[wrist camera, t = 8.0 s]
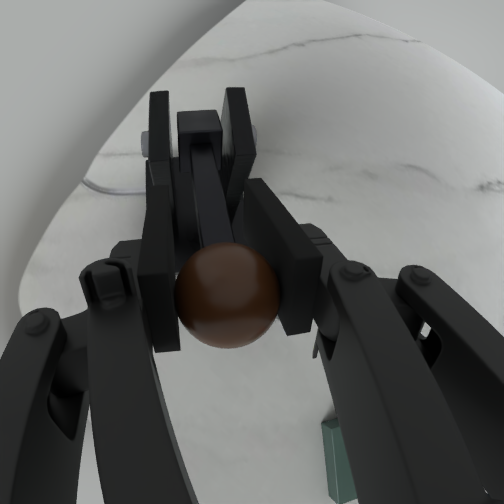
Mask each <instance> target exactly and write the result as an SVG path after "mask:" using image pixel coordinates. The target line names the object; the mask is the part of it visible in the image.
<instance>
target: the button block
mask: <svg viewBox="0 0 504 504" xmlns="http://www.w3.org/2000/svg"><path fill="white" fill-rule="evenodd" d="M321 425H322V433H323V442H324V451H325V460H326V470H327V480H328V491H329V496H330V497H331V498H332V499H333V500H334V501H335V502H336V503H337V504H343V503H346V502H349V501H352V500H354V499H357V494H356V490H355V485H354V481H353V477H352V473H351V469H350V465H349V461H348V457H347V453H346V449H345V445H344V441H343V437H342V433H341V429H340V425H339V421H338V418H337V419H334V420H330V421H326V422H323V423H321Z"/></svg>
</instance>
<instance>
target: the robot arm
mask: <svg viewBox="0 0 504 504" xmlns="http://www.w3.org/2000/svg"><path fill="white" fill-rule="evenodd" d="M243 236H244V238H245V241H246V243H247V245H248V247H250V248H252V249H254V250H255V251H257V252H258V253H260V254H261V255H262V256H263V257H264V258H265V259H266V260H267V261H268V262H269V263H270V264H271V266H272V268H273V269H274V271H275V273H276V275H277V278H278V281H279V285H280V295H281V298H280V306H279V310H278V313H277V314H278V316H279V319H280V321H281V323H282V326H283V328H284V330H285V333H286V335H287V336H290V335H296V334H301V333H307V332H310V331H311V326H312V320H313V319H314V320H315V322H316V324H317V326H318V331H317V336H316V341H315V345H314V349H313V358H316V357H317V353H318V350H319V352H320V355H321V359H322V363H323V366H324V370H325V373H326V377H327V381H328V384H329V388H330V392H331V395H332V399H333V403H334V406H335V410H336V414H337V418H338V421H339V425H340V429H341V433H342V437H343V441H344V445H345V449H346V453H347V457H348V461H349V465H350V469H351V473H352V477H353V481H354V485H355V490H356V494H357V498H358V503H359V504H504V337H503V336H502V335H501V334H500V333H499V332H498V331H497V330H496V329H495V328H494V327H493V326H492V325H491V324H490V323H489V322H488V321H487V320H486V319H485V318H484V317H483V316H482V315H480V314H479V313H478V312H477V311H476V310H475V309H474V308H473V307H472V306H471V305H470V304H469V303H468V302H466V301H465V300H464V299H463V298H462V297H461V296H460V295H459V294H458V293H456V292H455V291H454V290H453V289H452V288H451V287H450V286H449V285H447V284H446V283H445V282H444V281H443V280H442V279H441V278H439V277H438V276H437V275H436V274H435V273H433V272H432V271H430V270H429V269H426V268H424V267H422V266H418V265H408V266H405V267H403V268H402V269H401V271H400V273H399V276H398V279H389V278H378V277H377V276H376V274H375V273H374V272H373V270H372V269H371V268H370V267H368V266H366V265H364V264H363V263H360V262H356V261H349V260H347V259H346V258H345V256H344V255H343V254H342V253H341V252H340V250H339V249H338V248H337V247H336V246H335V245H334V244H333V242H332V241H331V240H330V239H329V238H327V236H326V234H325V233H324V232H323V231H322V230H321V229H320V228H318V227H316V226H314V225H312V224H310V223H309V224H298V223H297V222H296V220H295V219H294V218H293V217H292V215H291V214H290V213H289V212H288V210H287V209H286V208H285V207H284V205H283V204H282V203H281V202H280V200H279V199H278V198H277V197H276V196H275V194H274V193H273V192H272V191H271V189H270V188H269V187H268V186H267V185H266V183H265V182H264V181H263V180H262V178H252V179H244V213H243ZM79 280H80V283H81V286H82V290H83V293H84V296H85V299H86V302H87V305H88V309H87V310H85V311H84V312H81V313H79V314H76V315H73V316H70V317H67V318H64V319H61V318H60V316H59V314H58V312H57V311H55V310H54V309H51V308H39V309H35V310H33V311H31V312H29V313H27V314H26V315H25V316H23V317H22V318H21V320H20V321H19V322H18V324H17V326H16V328H15V330H14V332H13V334H12V336H11V338H10V340H9V342H8V344H7V346H6V348H5V350H4V352H3V355H2V357H1V359H0V504H76V500H77V488H78V479H79V469H80V462H81V453H82V447H83V440H84V433H85V427H86V421H87V416H88V410H89V405H90V411H91V421H92V431H93V439H94V447H95V454H96V460H97V467H98V473H99V478H100V484H101V489H102V494H103V499H104V503H105V504H199V503H198V500H197V498H196V495H195V492H194V490H193V487H192V484H191V481H190V479H189V476H188V473H187V470H186V467H185V464H184V461H183V459H182V456H181V452H180V449H179V446H178V443H177V440H176V437H175V434H174V430H173V427H172V424H171V420H170V417H169V413H168V410H167V406H166V403H165V399H164V395H163V392H162V388H161V384H160V380H159V376H158V372H157V368H156V364H155V361H154V357H153V347H154V351H155V353H159V352H170V351H180V350H181V349H180V337H179V325H178V314H177V311H176V308H175V300H174V288H175V282H176V278H175V256H174V237H173V227H172V217H171V206H170V194H169V184H166V185H156V186H151V188H150V193H149V199H148V204H147V210H146V216H145V222H144V228H143V234H142V239H138V240H128V241H119V242H118V244H117V245H116V246H115V247H114V248H113V249H112V250H111V254H110V257H109V258H106V259H102V260H98V261H95V262H93V263H92V264H90V265H88V266H87V267H86V268H85V269H83V270H82V271H81V274H80V276H79ZM425 322H426V323H427V324H428V325H429V326H430V327H431V330H430V332H429V334H428V336H427V337H424V336H423V335H422V334H421V333H420V332H421V330H422V328H423V325H424V323H425ZM483 487H484V488H485V490H486V491H487V493H488V494H489V496H490V497H489V496H488V495H487V494H486V492H485V490H484V488H483Z"/></svg>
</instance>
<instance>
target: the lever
mask: <svg viewBox="0 0 504 504" xmlns="http://www.w3.org/2000/svg"><path fill="white" fill-rule="evenodd" d="M177 130H178V153H179V171H180V173H188V172H191V175H192V184H193V192H194V201H195V209H196V217H197V224H198V232H199V239H200V246H201V249H200V250H199V251H197V252H196V253H194V254H193V255H192V256H191V257H190V258H189V259H188V260H187V261H186V262H185V264H184V265H183V266H182V268H181V270H180V272H179V274H178V276H177V279H176V282H175V288H174V300H175V308H176V311H177V314H178V317H179V319H180V321H181V322H182V324H183V325H184V327H185V328H186V330H187V331H188V332H189V333H190V334H191V335H193V336H194V337H195V338H196V339H198V340H199V341H201V342H203V343H205V344H207V345H210V346H213V347H217V348H228V349H229V348H238V347H242V346H245V345H248V344H250V343H252V342H254V341H256V340H257V339H259V338H260V337H261V336H262V335H264V334H265V333H266V332H267V330H268V329H269V328H270V327H271V325H272V324H273V322H274V320H275V318H276V316H277V313H278V310H279V306H280V298H281V295H280V285H279V281H278V278H277V275H276V273H275V271H274V269H273V268H272V266H271V264H270V263H269V262H268V261H267V260H266V259H265V258H264V257H263V256H262V255H261V254H260V253H258V252H257V251H255V250H254V249H252V248H250V247H248V246H245V245H242V244H238V243H235V239H234V235H233V231H232V226H231V222H230V218H229V214H228V210H227V206H226V202H225V198H224V193H223V189H222V185H221V181H220V177H219V173H218V170H221V169H222V147H223V129H222V125H221V122H220V119H219V116H218V113H217V110H198V111H182V112H177Z"/></svg>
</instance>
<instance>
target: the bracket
mask: <svg viewBox="0 0 504 504" xmlns="http://www.w3.org/2000/svg"><path fill="white" fill-rule="evenodd" d="M221 125H222V129H223V147H222V169H221V170H218V173H219V177H220V181H221V185H222V189H223V193H224V198H225V202H226V206H227V210H228V214H229V218H230V222H231V226H232V231H233V235H234V239H235V243H238V244H242V245H245V246H248V245H247V243H246V241H245V238H244V236H243V213H244V199H243V191H244V179H248V177H249V174H250V171H251V169H252V166H253V163H254V160H255V158H256V155H257V153H256V142H257V135H256V129H255V126H254V125H251V120H250V115H249V109H248V104H247V98H246V93H245V88H244V87H227V88H226V91H225V97H224V103H223V109H222V116H221ZM141 148H142V155H143V157H148V160H146V210H147V204H148V199H149V193H150V188H151V186H156V185H166V184H169V194H170V206H171V217H172V227H173V237H174V256H175V275H178V274H179V272H180V270H181V268H182V266H183V265H184V264H185V262H186V261H187V260H188V259H189V258H190V257H191V256H192V255H193V254H194V253H196V252H197V251H199V250H200V249H201V246H200V239H199V232H198V224H197V217H196V209H195V201H194V192H193V184H192V175H191V172H188V173H180V171H179V157H174V158H173V151H172V138H171V123H170V106H169V91H156V92H150V100H149V131H144V132H142V134H141Z"/></svg>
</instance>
